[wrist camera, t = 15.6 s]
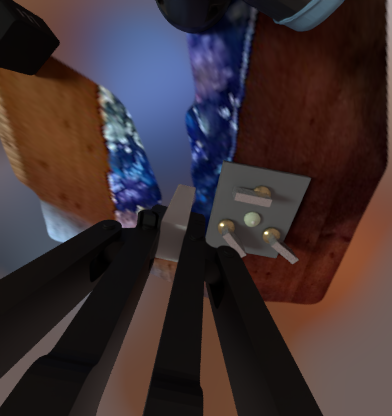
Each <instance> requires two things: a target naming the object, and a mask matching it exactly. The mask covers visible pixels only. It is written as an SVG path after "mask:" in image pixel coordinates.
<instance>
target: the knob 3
mask: <svg viewBox="0 0 392 416" xmlns="http://www.w3.org/2000/svg"><path fill="white" fill-rule="evenodd" d="M262 238H263V240H264V241H265V242H266V243H270V245H271V247H273V248H274V249H275V250H276V251H277V252H279V253H280V254H281V255H282V256H284V257H285V258H286V259H287V260H288V261H290V262H291V263H292V264H294V263H295V262H296V261H298V258H297V257H296V255H295V254H294V252H293V251H292V249H291V248H290V247H288V246H287V245H286V244H285V243H284V242H283V241H281V240H280V239H279V238H280V233H279V231H278V230H277V229H276V228H274V227H268V228H266V229H265V230H264V231H263V232H262Z"/></svg>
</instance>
